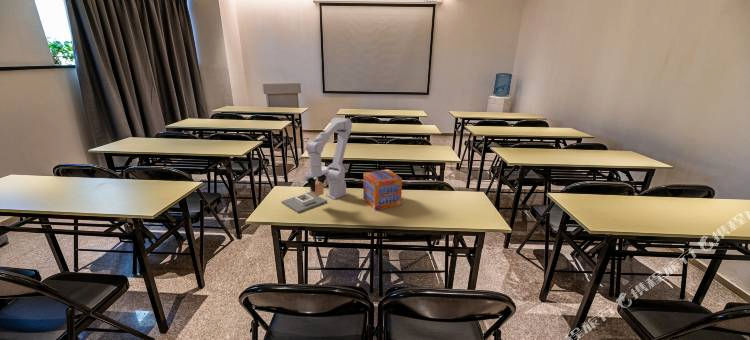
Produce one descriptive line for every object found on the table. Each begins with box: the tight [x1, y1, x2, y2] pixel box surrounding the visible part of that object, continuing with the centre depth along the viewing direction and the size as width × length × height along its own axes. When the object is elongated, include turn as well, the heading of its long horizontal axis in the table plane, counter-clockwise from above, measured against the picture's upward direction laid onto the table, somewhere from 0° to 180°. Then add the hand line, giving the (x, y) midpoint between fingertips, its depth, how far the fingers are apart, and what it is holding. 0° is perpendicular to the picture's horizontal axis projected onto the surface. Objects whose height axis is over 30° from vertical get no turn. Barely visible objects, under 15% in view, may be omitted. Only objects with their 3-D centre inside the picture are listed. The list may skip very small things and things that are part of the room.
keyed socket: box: [281, 191, 328, 214], centre depth 164 cm, size 18×16×3 cm
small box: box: [316, 165, 329, 188], centre depth 188 cm, size 8×6×10 cm
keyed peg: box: [309, 179, 325, 197], centre depth 157 cm, size 6×4×6 cm, turn 46°
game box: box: [362, 169, 403, 211], centre depth 165 cm, size 16×16×16 cm
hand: (316, 190), depth 157 cm, fingers closed on keyed peg, 4 cm apart
